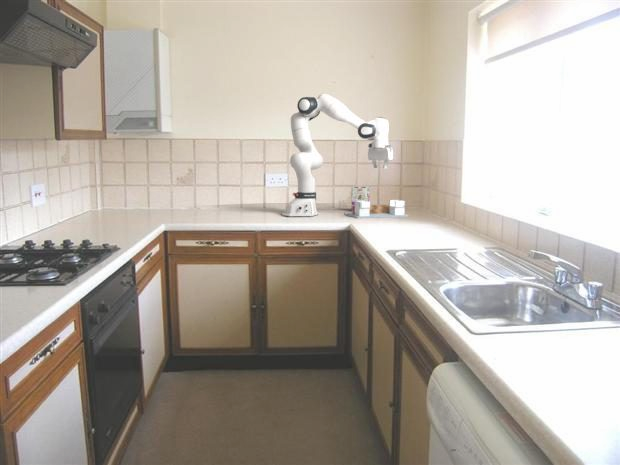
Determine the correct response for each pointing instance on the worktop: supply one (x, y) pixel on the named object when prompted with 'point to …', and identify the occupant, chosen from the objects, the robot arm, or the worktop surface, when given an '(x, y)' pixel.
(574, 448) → the worktop surface
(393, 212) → the grey base with supports
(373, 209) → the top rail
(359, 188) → the candy bar box
